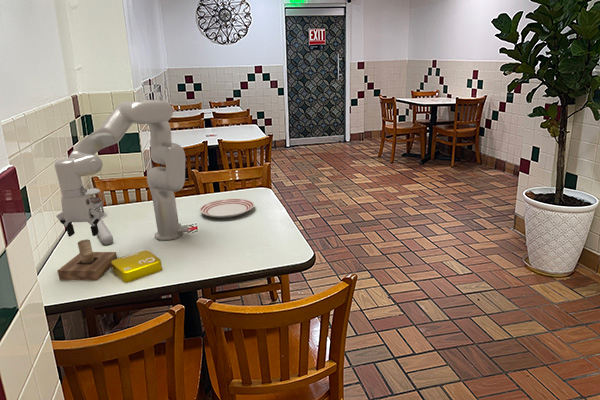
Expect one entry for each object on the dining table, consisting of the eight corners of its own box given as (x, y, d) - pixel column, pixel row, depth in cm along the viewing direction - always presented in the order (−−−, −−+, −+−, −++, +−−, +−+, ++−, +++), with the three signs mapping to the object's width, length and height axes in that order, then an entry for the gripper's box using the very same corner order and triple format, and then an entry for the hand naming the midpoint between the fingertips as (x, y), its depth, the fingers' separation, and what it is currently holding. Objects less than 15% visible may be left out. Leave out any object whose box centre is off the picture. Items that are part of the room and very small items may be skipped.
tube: (115, 235, 204) (104, 219, 224) (102, 234, 201) (92, 218, 221) (113, 247, 205) (102, 229, 225) (100, 246, 202) (91, 228, 222)
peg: (98, 267, 183) (92, 239, 179) (92, 272, 179) (86, 244, 175) (87, 267, 184) (81, 239, 180) (81, 272, 179) (74, 244, 176)
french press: (82, 219, 237) (71, 172, 229) (98, 212, 247) (88, 166, 239) (97, 221, 233) (87, 173, 225) (113, 213, 244) (104, 166, 236)
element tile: (148, 258, 190) (146, 247, 188) (164, 270, 179) (162, 259, 177) (111, 270, 181) (109, 259, 179) (125, 284, 170) (123, 272, 168)
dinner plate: (206, 204, 251) (206, 198, 250) (257, 202, 249) (257, 196, 248) (194, 223, 225) (193, 216, 224) (250, 221, 223) (250, 214, 222)
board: (117, 261, 188) (116, 251, 187) (97, 280, 173) (95, 270, 172) (83, 260, 190) (81, 252, 188) (59, 280, 175) (57, 270, 173)
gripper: (100, 188, 174) (110, 230, 179) (57, 189, 176) (68, 231, 182) (89, 195, 167) (100, 238, 172) (45, 196, 169) (56, 239, 175)
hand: (83, 234), depth 177 cm, fingers open, 9 cm apart
